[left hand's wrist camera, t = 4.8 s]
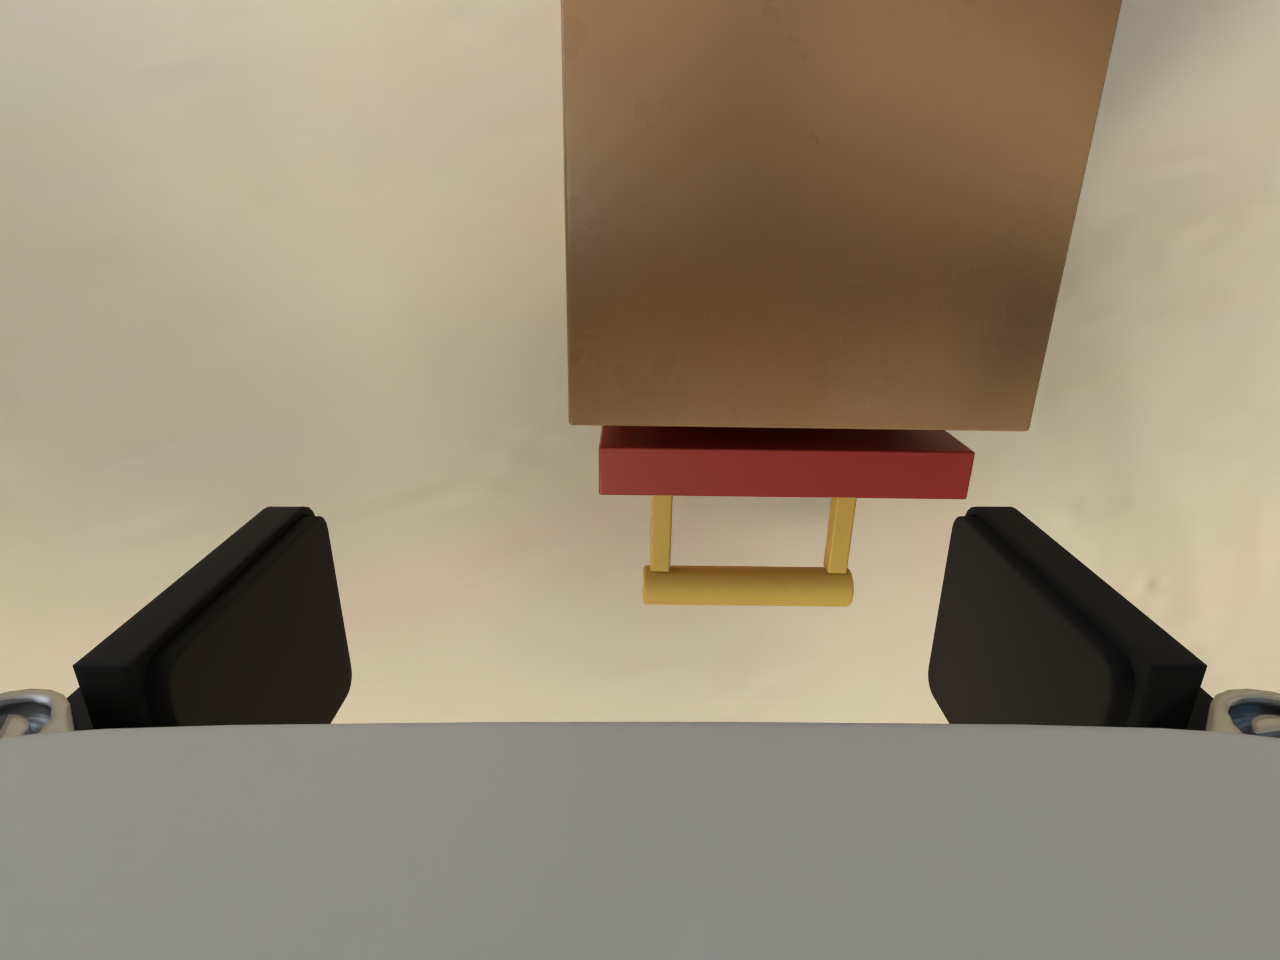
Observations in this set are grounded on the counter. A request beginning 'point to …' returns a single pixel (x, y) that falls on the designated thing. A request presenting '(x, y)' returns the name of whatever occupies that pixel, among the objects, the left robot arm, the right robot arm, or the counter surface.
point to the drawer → (773, 495)
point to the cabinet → (821, 207)
